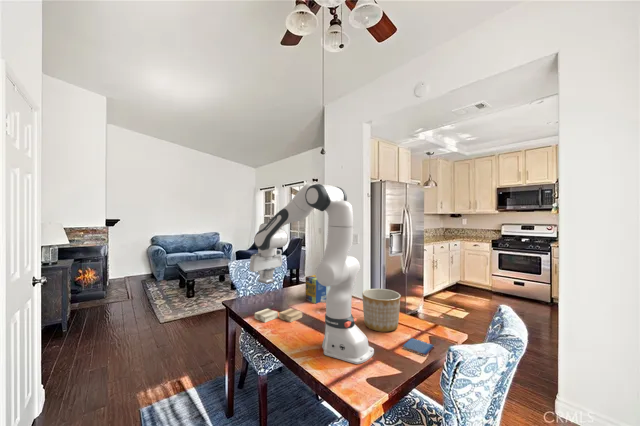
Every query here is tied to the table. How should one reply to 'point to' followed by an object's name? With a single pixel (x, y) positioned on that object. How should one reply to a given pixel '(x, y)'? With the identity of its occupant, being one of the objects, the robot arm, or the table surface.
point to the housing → (267, 276)
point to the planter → (381, 309)
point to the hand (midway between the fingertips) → (266, 277)
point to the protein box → (315, 290)
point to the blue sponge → (418, 346)
